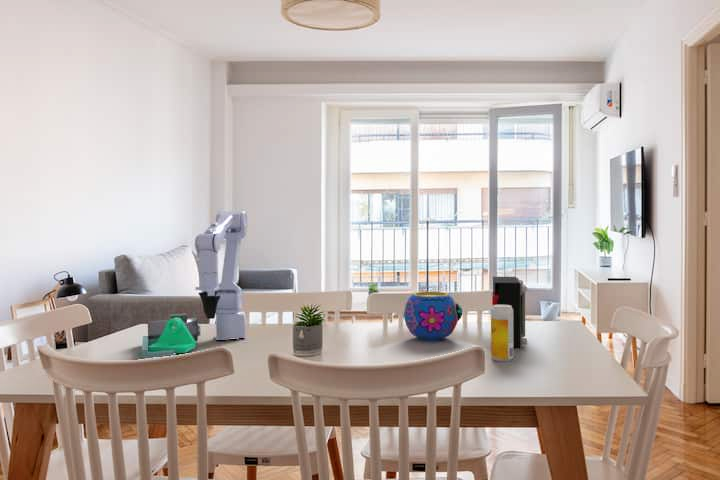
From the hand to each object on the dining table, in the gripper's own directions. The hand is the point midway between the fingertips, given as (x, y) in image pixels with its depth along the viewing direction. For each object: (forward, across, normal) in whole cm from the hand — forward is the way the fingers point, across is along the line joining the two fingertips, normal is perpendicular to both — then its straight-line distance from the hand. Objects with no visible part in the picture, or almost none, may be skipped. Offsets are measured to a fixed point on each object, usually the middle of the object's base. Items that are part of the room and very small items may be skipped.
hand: (209, 316), depth 173 cm
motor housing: (+10, -14, -10) cm, 20 cm away
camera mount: (+11, -2, -11) cm, 16 cm away
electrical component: (+11, +28, +89) cm, 94 cm away
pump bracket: (+10, 0, -15) cm, 18 cm away
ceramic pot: (+11, +14, +69) cm, 71 cm away
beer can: (+11, +45, +75) cm, 88 cm away
